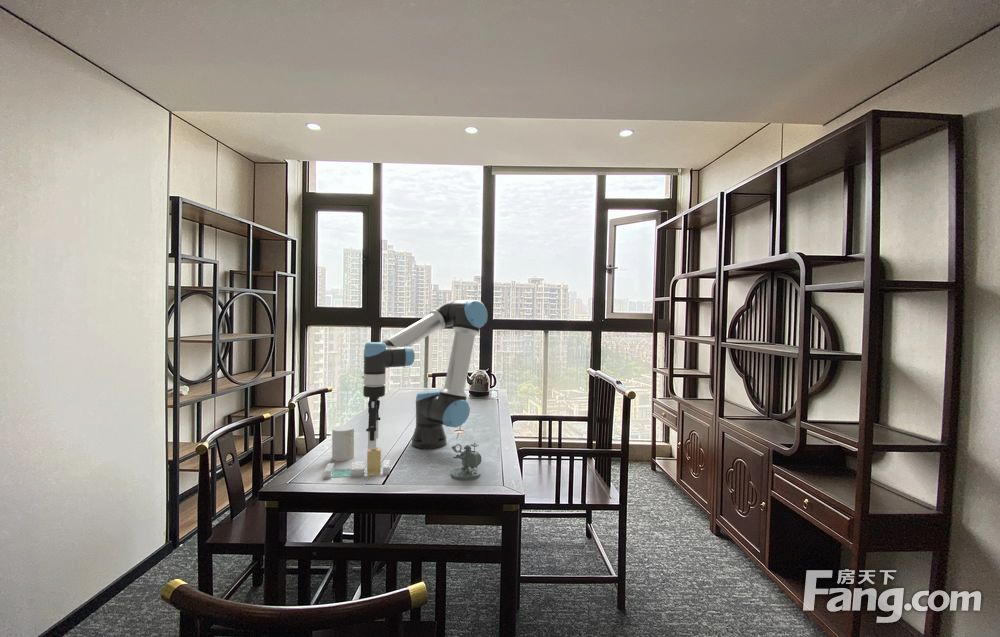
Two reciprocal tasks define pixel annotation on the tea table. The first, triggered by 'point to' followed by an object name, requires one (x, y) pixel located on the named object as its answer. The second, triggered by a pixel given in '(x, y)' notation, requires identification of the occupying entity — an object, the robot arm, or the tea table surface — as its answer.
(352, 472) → the rail
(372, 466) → the pale yellow tall block
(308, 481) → the tea table surface
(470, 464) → the figurine
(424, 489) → the tea table surface
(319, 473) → the tea table surface
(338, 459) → the cup
